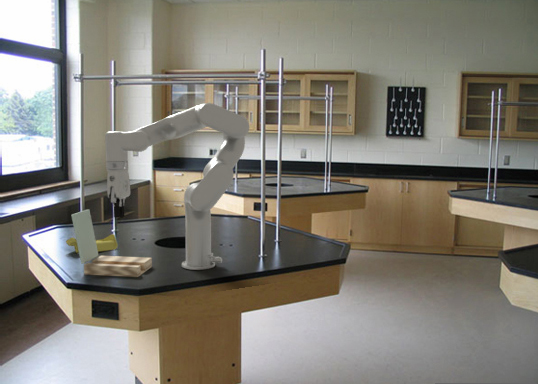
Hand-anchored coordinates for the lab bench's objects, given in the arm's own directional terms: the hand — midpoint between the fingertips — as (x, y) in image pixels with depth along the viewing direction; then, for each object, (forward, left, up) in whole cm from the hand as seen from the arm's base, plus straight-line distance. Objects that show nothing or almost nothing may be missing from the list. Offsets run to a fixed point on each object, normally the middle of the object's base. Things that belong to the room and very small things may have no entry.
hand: (119, 217), depth 195 cm
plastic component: (+26, -31, -21) cm, 45 cm away
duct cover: (+13, -1, -8) cm, 15 cm away
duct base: (+1, -1, -20) cm, 20 cm away
